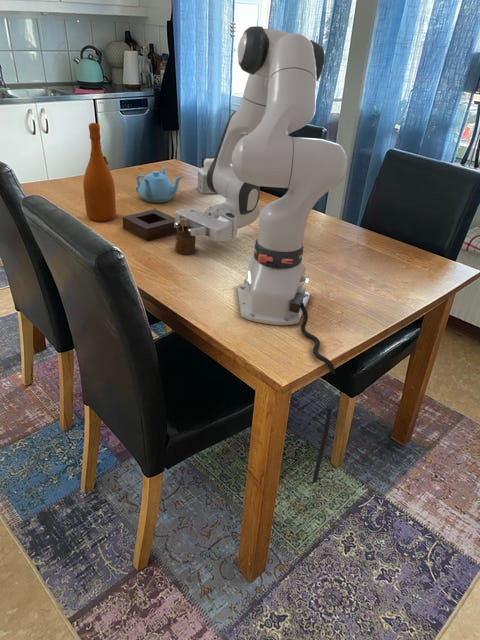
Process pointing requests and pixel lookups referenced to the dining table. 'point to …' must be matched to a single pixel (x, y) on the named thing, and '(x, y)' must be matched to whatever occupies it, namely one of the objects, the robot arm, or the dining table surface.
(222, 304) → the dining table surface
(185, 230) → the utensil holder
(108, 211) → the wine bottle
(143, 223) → the socket block
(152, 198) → the teapot
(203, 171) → the container
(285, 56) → the robot arm
